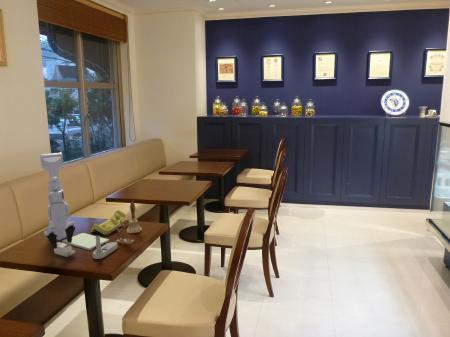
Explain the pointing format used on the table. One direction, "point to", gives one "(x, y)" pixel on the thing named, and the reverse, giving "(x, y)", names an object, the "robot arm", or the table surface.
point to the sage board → (85, 241)
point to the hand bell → (133, 221)
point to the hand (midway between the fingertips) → (62, 245)
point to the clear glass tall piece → (122, 240)
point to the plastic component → (110, 223)
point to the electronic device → (103, 249)
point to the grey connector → (64, 249)
